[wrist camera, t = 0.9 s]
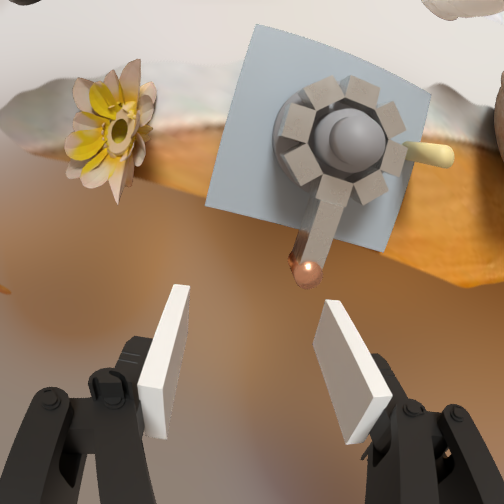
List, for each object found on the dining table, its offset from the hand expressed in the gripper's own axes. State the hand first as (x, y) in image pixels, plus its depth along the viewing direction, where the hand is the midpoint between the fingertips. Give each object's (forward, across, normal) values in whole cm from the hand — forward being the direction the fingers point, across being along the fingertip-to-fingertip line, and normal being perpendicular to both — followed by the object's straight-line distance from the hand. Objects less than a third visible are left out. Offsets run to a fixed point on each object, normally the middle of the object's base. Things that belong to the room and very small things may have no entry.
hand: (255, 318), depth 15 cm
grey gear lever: (+18, +8, +5) cm, 21 cm away
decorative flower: (+23, -16, +9) cm, 29 cm away
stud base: (+23, +8, +10) cm, 26 cm away
